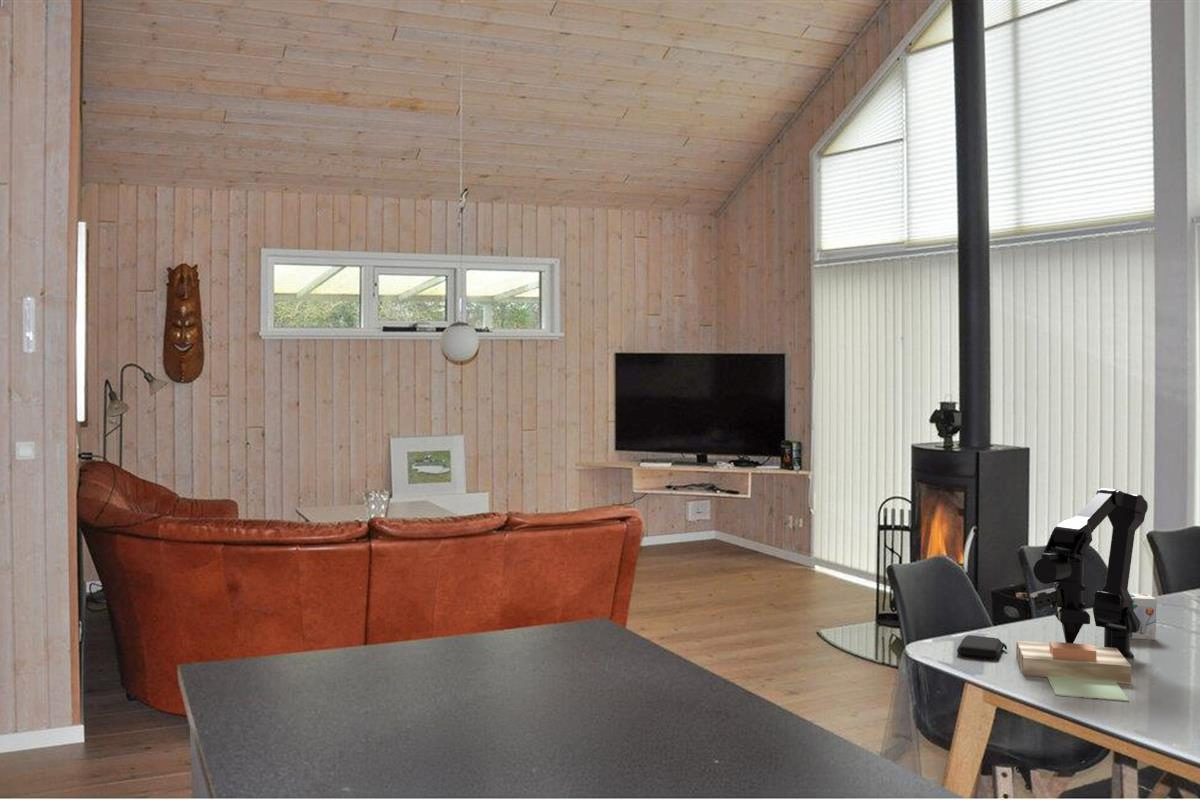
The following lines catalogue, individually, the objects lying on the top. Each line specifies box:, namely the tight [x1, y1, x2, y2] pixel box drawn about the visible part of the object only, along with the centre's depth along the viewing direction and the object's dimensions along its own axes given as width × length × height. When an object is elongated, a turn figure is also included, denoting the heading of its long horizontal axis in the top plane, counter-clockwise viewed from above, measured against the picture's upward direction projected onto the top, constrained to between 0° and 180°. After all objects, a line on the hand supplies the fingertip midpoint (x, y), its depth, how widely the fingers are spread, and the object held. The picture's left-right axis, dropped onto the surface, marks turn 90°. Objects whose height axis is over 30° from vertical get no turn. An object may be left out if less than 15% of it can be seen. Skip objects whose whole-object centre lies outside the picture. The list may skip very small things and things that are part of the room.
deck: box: [1015, 640, 1132, 685], centre depth 236 cm, size 16×22×4 cm
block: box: [1049, 641, 1096, 660], centre depth 234 cm, size 6×9×2 cm, turn 73°
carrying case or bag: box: [956, 634, 1008, 661], centre depth 251 cm, size 11×3×15 cm
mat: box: [1046, 676, 1130, 703], centre depth 222 cm, size 14×14×1 cm
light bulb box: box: [1129, 592, 1158, 640], centre depth 269 cm, size 11×7×11 cm, turn 80°
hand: (1068, 645), depth 239 cm, fingers closed
